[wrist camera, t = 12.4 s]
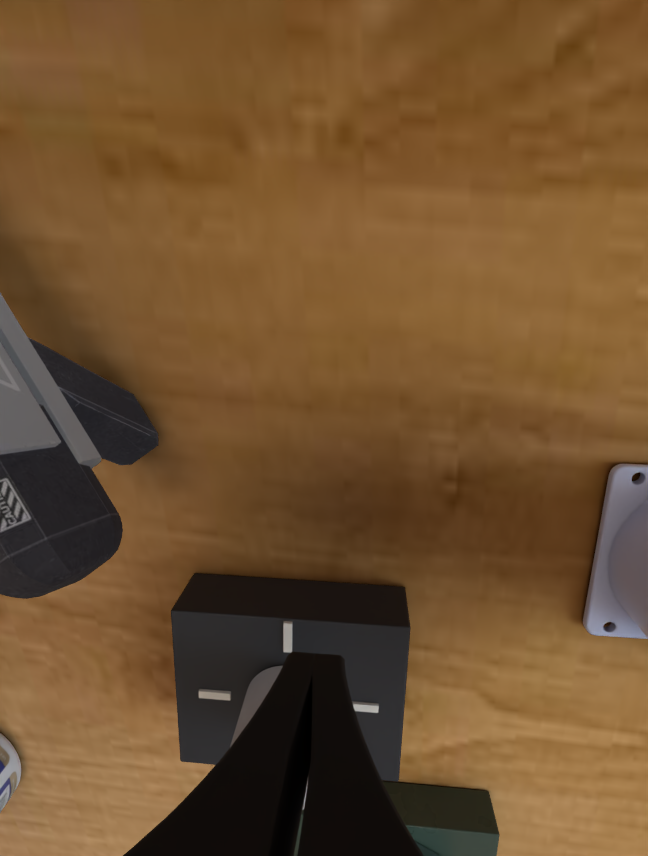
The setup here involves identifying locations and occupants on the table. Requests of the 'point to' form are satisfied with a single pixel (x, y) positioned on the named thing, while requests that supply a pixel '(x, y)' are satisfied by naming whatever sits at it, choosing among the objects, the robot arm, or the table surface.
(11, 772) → the pill bottle
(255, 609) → the dimmer console
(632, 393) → the table surface
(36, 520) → the gun
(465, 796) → the switch box
